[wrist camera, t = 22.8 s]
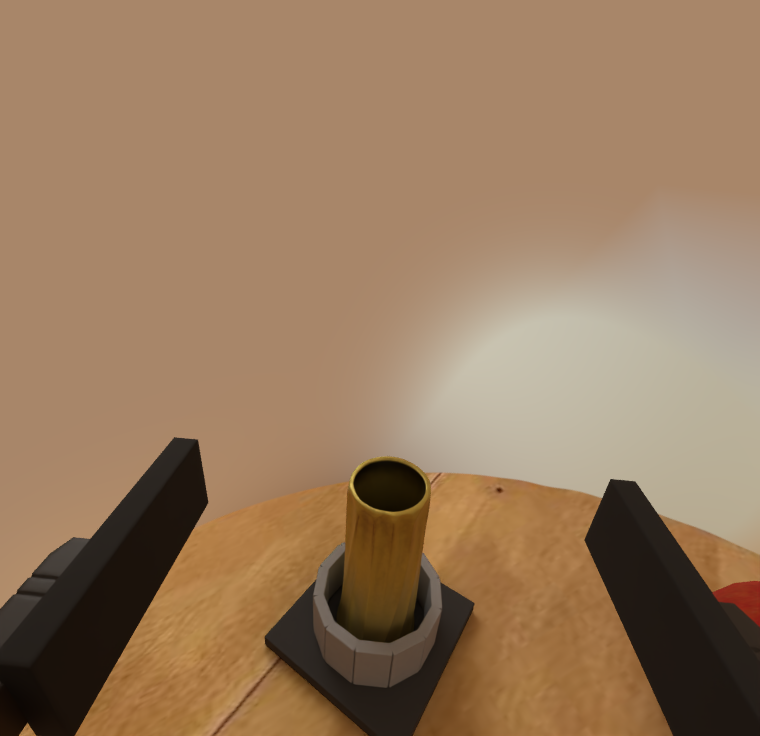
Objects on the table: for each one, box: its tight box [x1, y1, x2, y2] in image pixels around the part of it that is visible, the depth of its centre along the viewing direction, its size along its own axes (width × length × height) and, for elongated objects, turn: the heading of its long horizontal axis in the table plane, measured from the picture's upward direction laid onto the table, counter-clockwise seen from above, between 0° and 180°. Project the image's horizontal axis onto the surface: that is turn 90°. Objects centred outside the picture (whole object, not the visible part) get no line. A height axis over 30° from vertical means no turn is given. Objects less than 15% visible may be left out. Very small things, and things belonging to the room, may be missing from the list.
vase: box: [337, 457, 431, 643], centre depth 29 cm, size 6×6×14 cm
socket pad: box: [265, 542, 474, 736], centre depth 32 cm, size 12×12×5 cm
